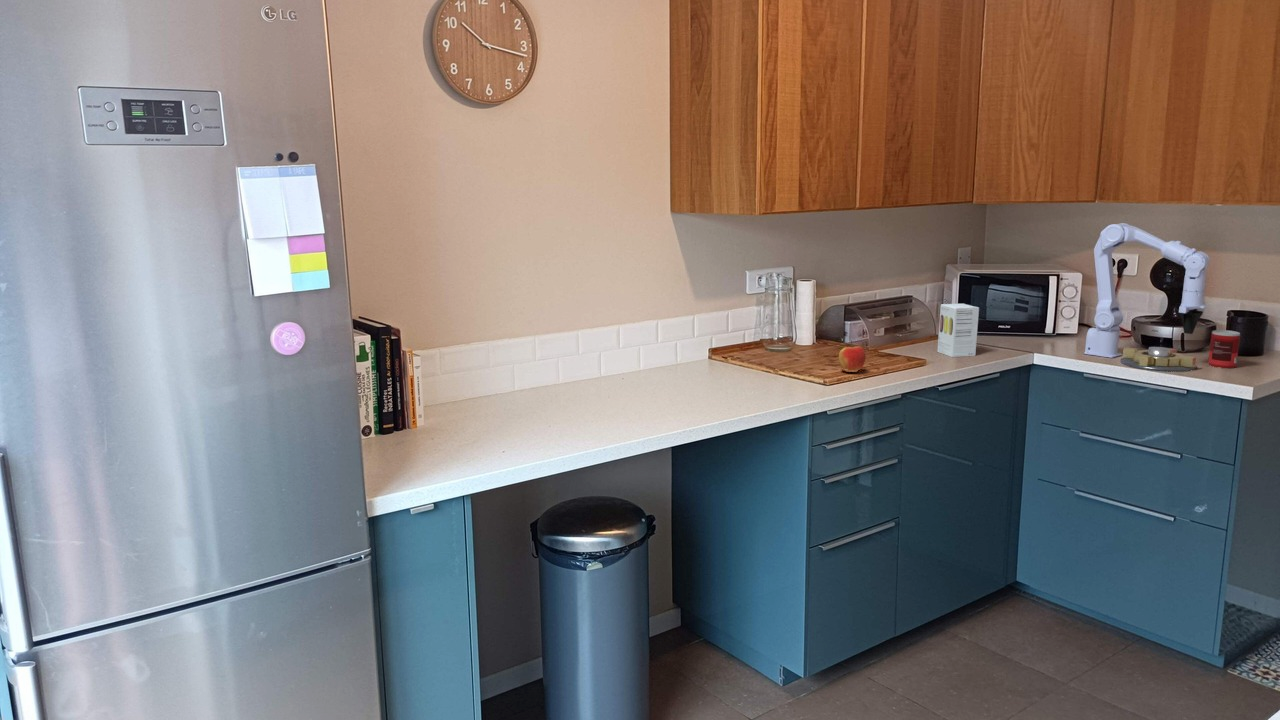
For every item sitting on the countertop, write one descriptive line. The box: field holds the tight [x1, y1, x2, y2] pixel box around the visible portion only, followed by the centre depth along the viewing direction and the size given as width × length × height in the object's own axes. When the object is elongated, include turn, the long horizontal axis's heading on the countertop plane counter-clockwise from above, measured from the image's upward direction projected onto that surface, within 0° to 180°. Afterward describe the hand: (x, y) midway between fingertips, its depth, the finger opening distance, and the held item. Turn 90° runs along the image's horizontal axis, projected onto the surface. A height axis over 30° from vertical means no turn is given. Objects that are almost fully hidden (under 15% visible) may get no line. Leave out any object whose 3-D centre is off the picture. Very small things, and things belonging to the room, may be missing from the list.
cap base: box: [1120, 346, 1197, 373], centre depth 293 cm, size 21×23×5 cm
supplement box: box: [937, 303, 980, 358], centre depth 310 cm, size 10×9×17 cm
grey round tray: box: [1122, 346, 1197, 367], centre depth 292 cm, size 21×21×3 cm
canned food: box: [1207, 329, 1241, 369], centre depth 289 cm, size 8×8×11 cm
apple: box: [838, 340, 866, 370], centre depth 282 cm, size 8×8×10 cm
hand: (1188, 333), depth 289 cm, fingers closed
